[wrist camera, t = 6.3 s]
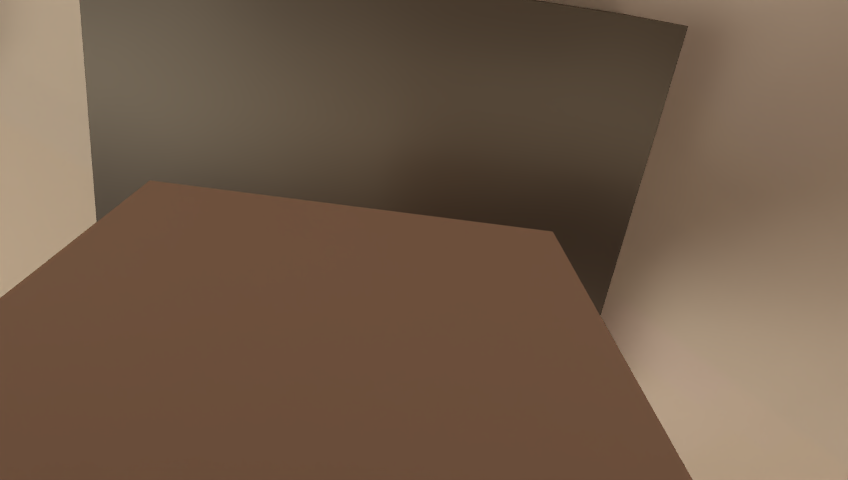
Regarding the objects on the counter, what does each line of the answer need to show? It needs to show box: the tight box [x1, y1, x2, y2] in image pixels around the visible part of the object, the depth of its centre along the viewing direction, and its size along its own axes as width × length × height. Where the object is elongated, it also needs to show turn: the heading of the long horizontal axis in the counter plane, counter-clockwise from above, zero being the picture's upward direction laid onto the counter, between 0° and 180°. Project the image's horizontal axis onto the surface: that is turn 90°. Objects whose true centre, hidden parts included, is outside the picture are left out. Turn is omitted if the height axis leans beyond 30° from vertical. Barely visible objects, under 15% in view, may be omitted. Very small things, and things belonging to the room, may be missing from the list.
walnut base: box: [80, 0, 688, 315], centre depth 16 cm, size 12×12×4 cm
